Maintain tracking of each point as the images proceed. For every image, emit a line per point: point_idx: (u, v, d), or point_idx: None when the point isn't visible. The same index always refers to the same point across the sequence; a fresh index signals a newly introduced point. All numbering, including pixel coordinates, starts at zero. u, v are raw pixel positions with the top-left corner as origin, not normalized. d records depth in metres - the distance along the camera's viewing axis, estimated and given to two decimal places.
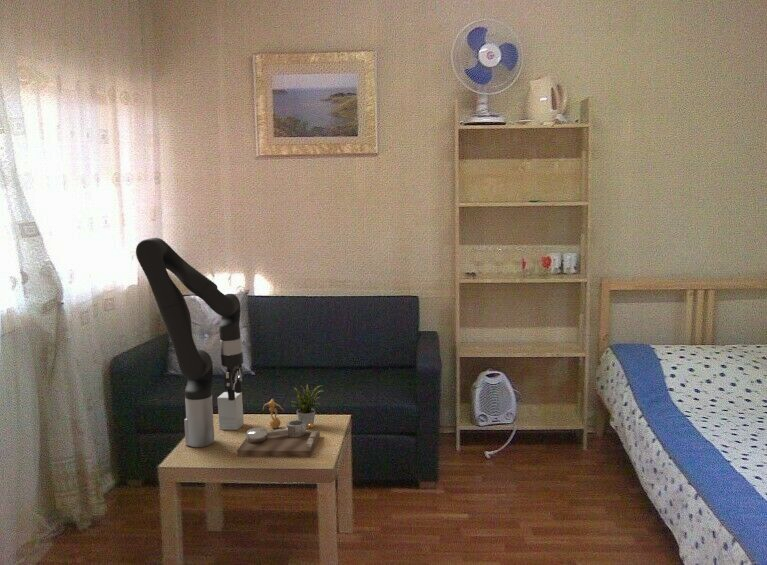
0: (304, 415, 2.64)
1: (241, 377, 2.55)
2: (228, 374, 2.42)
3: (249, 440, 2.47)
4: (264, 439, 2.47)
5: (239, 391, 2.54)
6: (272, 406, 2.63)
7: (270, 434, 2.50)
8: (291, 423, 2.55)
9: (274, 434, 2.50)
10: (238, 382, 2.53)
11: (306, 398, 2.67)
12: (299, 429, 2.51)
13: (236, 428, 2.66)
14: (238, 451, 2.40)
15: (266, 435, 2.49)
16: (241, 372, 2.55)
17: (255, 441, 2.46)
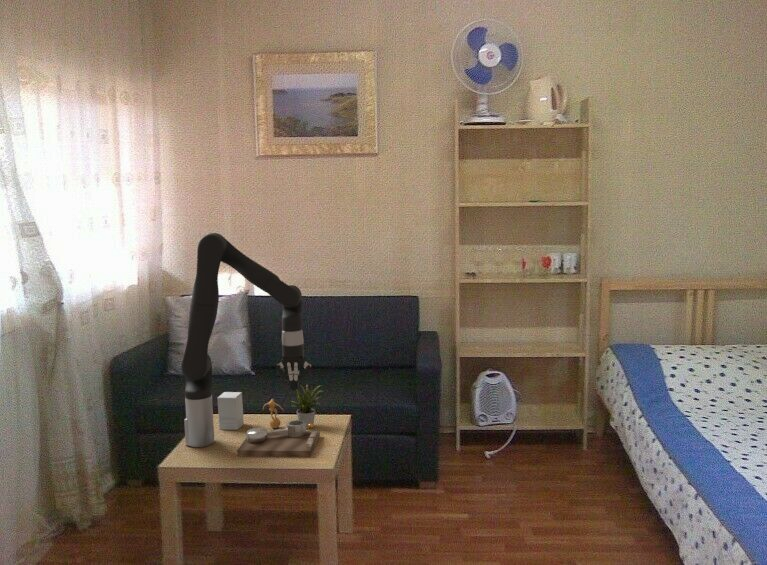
0: (304, 415, 2.64)
1: (288, 374, 2.52)
2: (310, 366, 2.51)
3: (249, 440, 2.47)
4: (264, 439, 2.47)
5: None
6: (272, 406, 2.63)
7: (270, 434, 2.50)
8: (291, 423, 2.55)
9: (274, 434, 2.50)
10: None
11: (306, 398, 2.67)
12: (299, 429, 2.51)
13: (236, 428, 2.66)
14: (238, 451, 2.40)
15: (266, 435, 2.49)
16: None
17: (255, 441, 2.46)
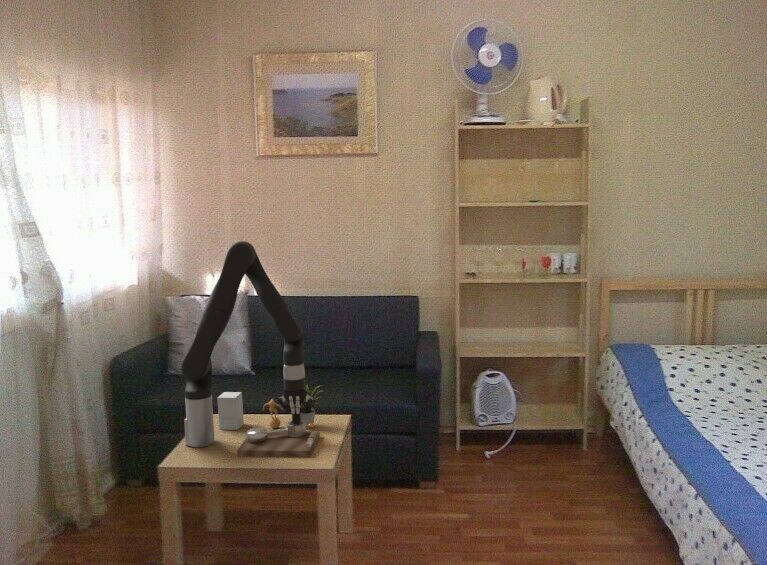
0: (304, 415, 2.64)
1: (290, 407, 2.54)
2: (312, 399, 2.52)
3: (249, 440, 2.47)
4: (264, 439, 2.47)
5: None
6: (272, 406, 2.63)
7: (270, 434, 2.50)
8: (291, 423, 2.55)
9: (274, 434, 2.50)
10: None
11: None
12: (299, 429, 2.51)
13: (236, 428, 2.66)
14: (238, 451, 2.40)
15: (266, 435, 2.49)
16: None
17: (255, 441, 2.46)
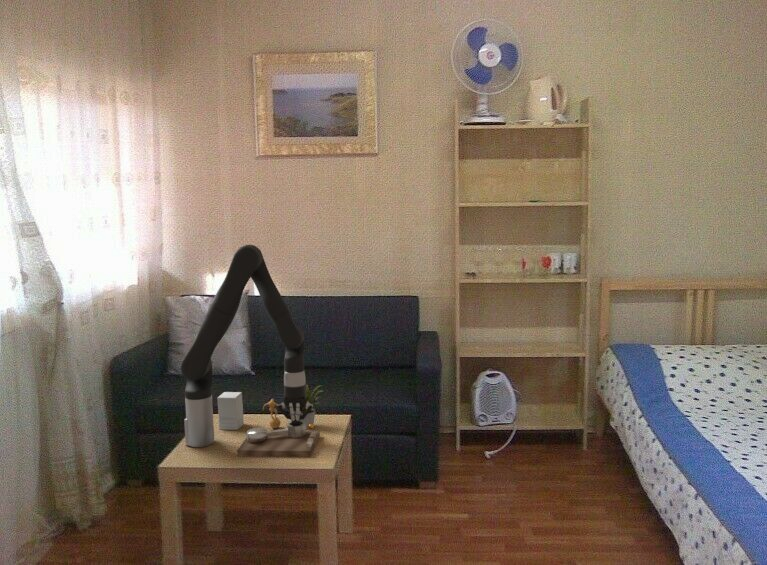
0: None
1: (290, 414, 2.53)
2: (312, 407, 2.52)
3: (249, 440, 2.47)
4: (264, 439, 2.47)
5: None
6: (272, 406, 2.63)
7: (270, 434, 2.50)
8: (291, 423, 2.55)
9: (274, 434, 2.50)
10: (295, 419, 2.53)
11: None
12: (299, 430, 2.50)
13: (236, 428, 2.66)
14: (238, 451, 2.40)
15: (266, 435, 2.48)
16: None
17: (255, 441, 2.46)
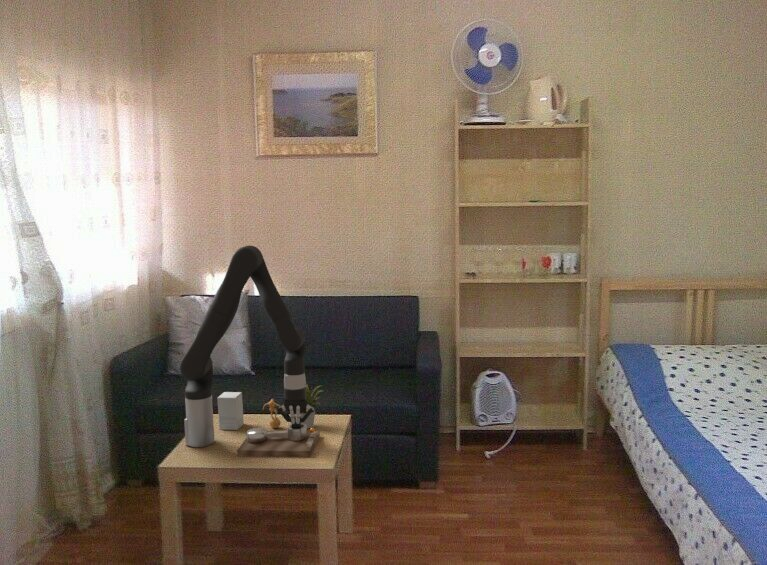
0: None
1: (290, 416, 2.50)
2: None
3: (248, 439, 2.47)
4: (262, 440, 2.47)
5: None
6: (272, 406, 2.63)
7: (270, 435, 2.49)
8: None
9: (274, 436, 2.49)
10: None
11: (306, 398, 2.67)
12: (298, 433, 2.47)
13: (236, 428, 2.66)
14: (238, 451, 2.40)
15: (265, 436, 2.48)
16: None
17: (253, 441, 2.46)
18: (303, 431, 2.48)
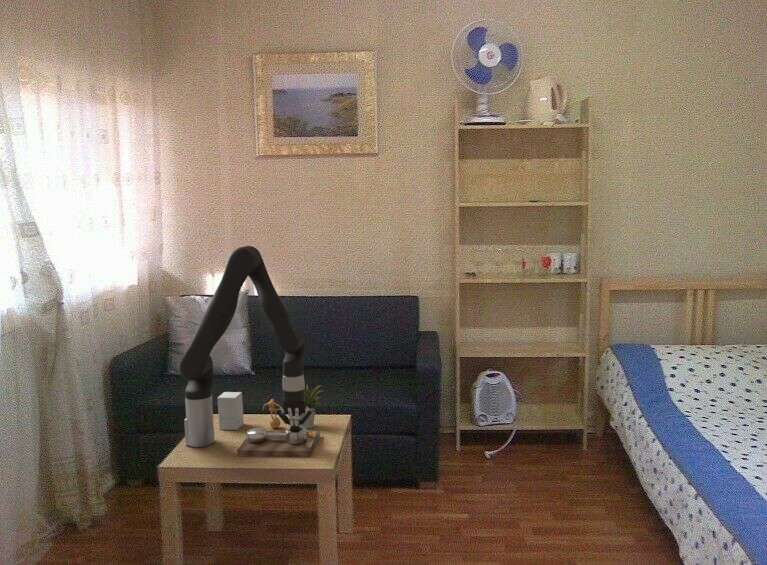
0: (304, 415, 2.64)
1: (289, 419, 2.47)
2: None
3: (247, 439, 2.48)
4: (260, 440, 2.46)
5: None
6: (272, 406, 2.63)
7: (268, 436, 2.48)
8: None
9: (272, 437, 2.47)
10: (294, 424, 2.47)
11: (306, 398, 2.67)
12: (294, 436, 2.44)
13: (236, 428, 2.66)
14: (238, 451, 2.40)
15: (263, 437, 2.47)
16: None
17: (251, 441, 2.46)
18: (300, 435, 2.45)
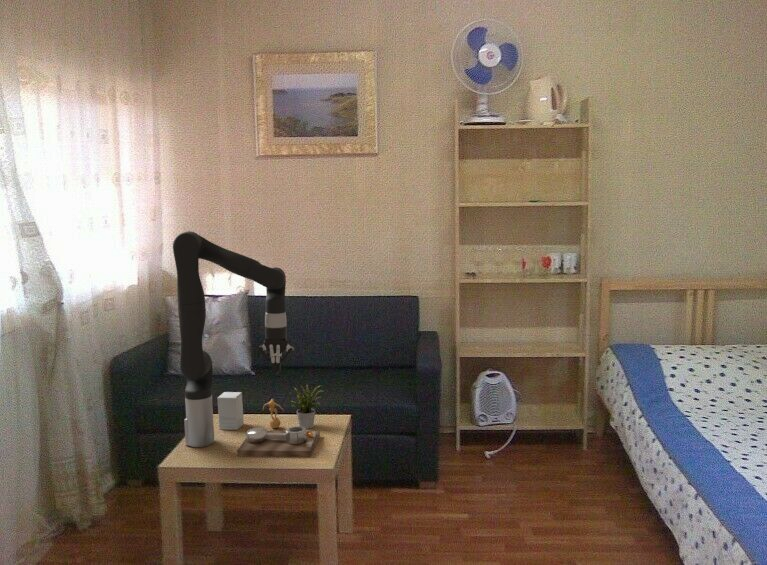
0: (304, 415, 2.64)
1: (270, 356, 2.52)
2: (293, 349, 2.51)
3: (247, 439, 2.48)
4: (260, 440, 2.46)
5: None
6: (272, 406, 2.63)
7: (268, 436, 2.48)
8: (294, 429, 2.49)
9: (272, 437, 2.47)
10: None
11: (306, 398, 2.67)
12: (294, 436, 2.44)
13: (236, 428, 2.66)
14: (238, 451, 2.40)
15: (263, 437, 2.47)
16: (267, 352, 2.52)
17: (251, 441, 2.46)
18: (300, 435, 2.45)
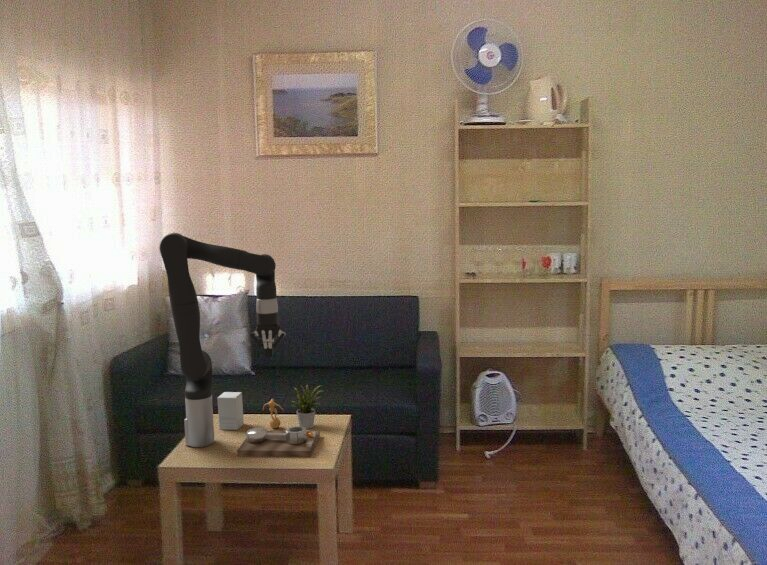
0: (304, 415, 2.64)
1: (263, 342, 2.56)
2: (285, 334, 2.54)
3: (247, 439, 2.48)
4: (260, 440, 2.46)
5: None
6: (272, 406, 2.63)
7: (268, 436, 2.48)
8: (294, 429, 2.49)
9: (272, 437, 2.47)
10: (268, 347, 2.55)
11: (306, 398, 2.67)
12: (294, 436, 2.44)
13: (236, 428, 2.66)
14: (238, 451, 2.40)
15: (263, 437, 2.47)
16: None
17: (251, 441, 2.46)
18: (300, 435, 2.45)
